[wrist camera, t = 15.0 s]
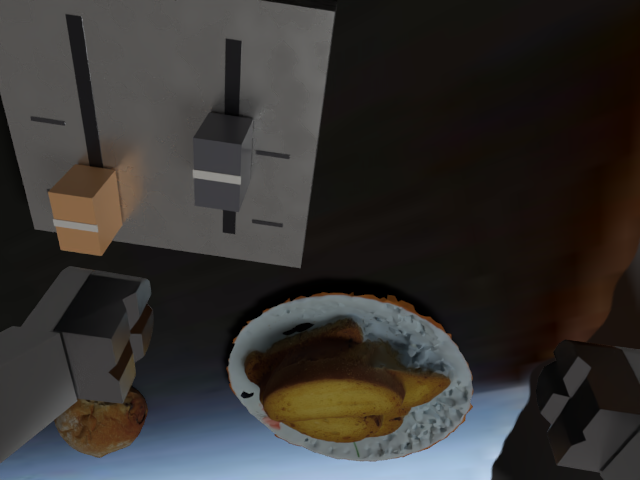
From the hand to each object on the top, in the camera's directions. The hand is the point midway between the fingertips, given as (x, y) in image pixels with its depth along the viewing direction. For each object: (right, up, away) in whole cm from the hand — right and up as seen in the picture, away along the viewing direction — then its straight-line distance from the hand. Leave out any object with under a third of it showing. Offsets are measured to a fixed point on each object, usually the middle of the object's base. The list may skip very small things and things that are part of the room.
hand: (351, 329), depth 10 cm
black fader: (-7, +8, +26) cm, 28 cm away
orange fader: (-18, +5, +29) cm, 34 cm away
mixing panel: (-12, +11, +28) cm, 33 cm away
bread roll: (-25, -17, +51) cm, 59 cm away
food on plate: (+2, -12, +45) cm, 46 cm away
